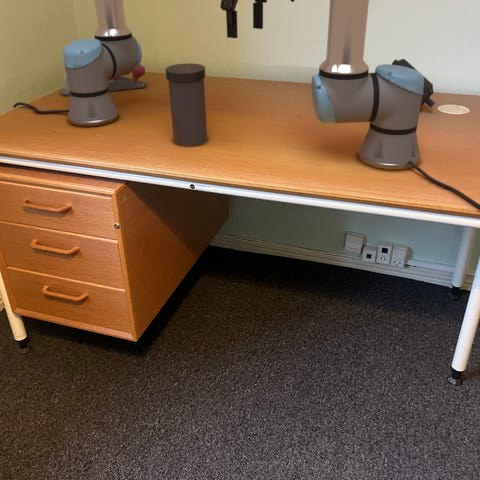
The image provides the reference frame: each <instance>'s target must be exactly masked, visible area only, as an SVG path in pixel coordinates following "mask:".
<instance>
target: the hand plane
mask: <svg viewBox="0 0 480 480" xmlns="http://www.w3.org/2000/svg"><path fill="white" fill-rule="evenodd" d="M131 73H132V76H131V78H130V77H126V76H124V75H122V76H119V77H116V78H114V79H111V80H108V81H107V84H108V91H109V92H112V91H113V92H114V91H121V90H132V89H142V88H146V83H145V81H143V80H139V78H142V77H144V76H145V75H146V68H145V66H143V65H141V64H140V65H139V66H138V68H137V69H136V70H134V71H133V72H131ZM62 84H63V88H62V90H61V93H62V95H63V96H71V95H70V90H69V85H68V79H67V74H66V71H65V72H64V74H63V80H62Z"/></svg>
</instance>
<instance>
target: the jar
mask: <svg viewBox="0 0 480 480" xmlns="http://www.w3.org/2000/svg"><path fill="white" fill-rule="evenodd" d="M167 81H168V92H169V102H170V103H169V104H170V114H171V125H172V138H173V143H174V144H175V145H178V146H180V147H198V146H201V145H203V144H205V143H207V141H208V127H207V109H206V108H207V105H206V88H205V87H206V86H205V78H204V79H202V80H199V81H194V82H173V81H169V80H167Z"/></svg>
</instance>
